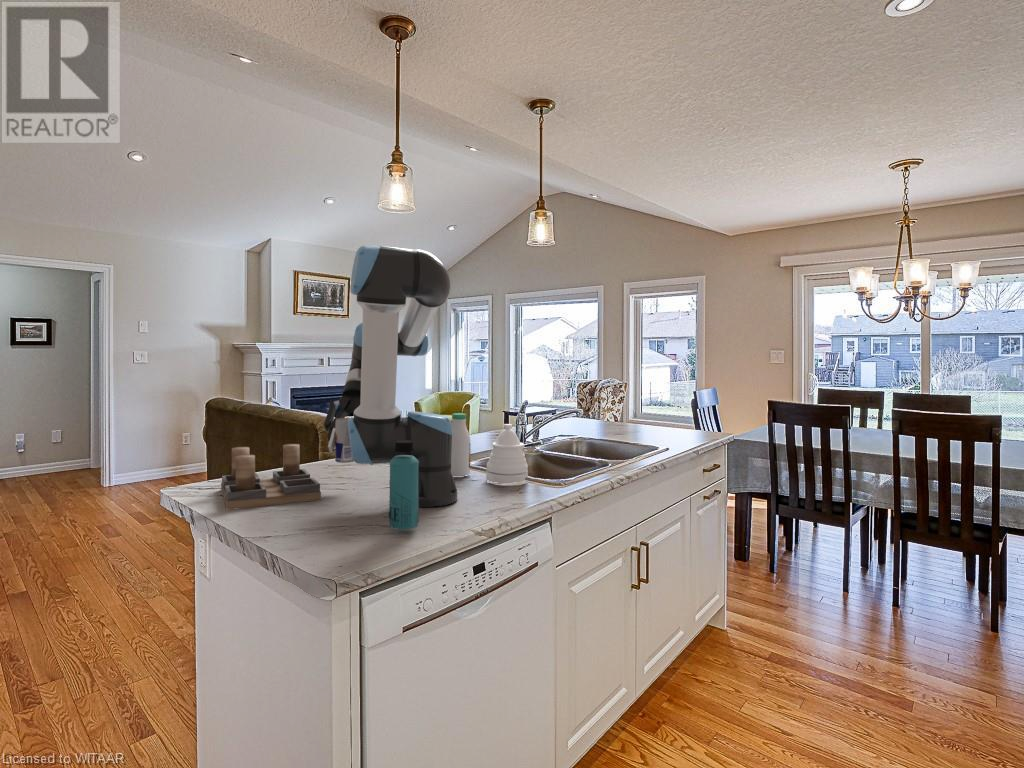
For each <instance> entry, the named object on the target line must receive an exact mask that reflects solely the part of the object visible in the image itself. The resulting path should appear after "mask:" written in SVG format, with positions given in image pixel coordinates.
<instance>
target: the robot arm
mask: <svg viewBox="0 0 1024 768" xmlns="http://www.w3.org/2000/svg"><path fill="white" fill-rule="evenodd" d="M354 255H355V256H354V259H353V265H352V269H351V278H350V286H349V288H350V294H352V295H354V296H355V295H356V304H358V305H359V307H361V309H362V322H361V323H360V322H359V324H358V325H357V326H356V327H355V330H354V334H353V335H354V336H353V340H352V341H353V343H352V344H353V345H352V353H351V361H350V366H349V370H348V373H347V376H346V380H345V384H344V386H343V390H342V393H341V396H340V398H339V400H333V399H330V400H329V402H328V403H329V408H328V411H327V414H326V417H325V420H324V423H323V426H324V429H325V432H328V433H327V441H328V445H327V448H328V451H329V453H331V454H332V453H333V452H334V451H335V450H334V449H335V422H336V419H337V418H346V417H347V416H348V415H349V414H353V417H349V418H350V419H348V420H347V422H348V435H349V442H350V449H351V454H352V458H353V460H354V463H355V464H358V465H371V466H372V465H378V464H379V465H380V464H390V461H391V460H392V459H393V458H394V457H395V456H398V455H412V456H414V457H415V458H416V459H417V460H418V461H419V464H418V489H419V490H418V505H419V507H418V508H435V507H434V506H439V507H443V506H442V505H445V506H448V505H447V504H450V503H452V504H454V503H453V502H455V501H456V500H457V501H458V495H459V494H458V492H459V491H458V489H457V486H456V483H455V479H454V478H455V477H453V475H452V471H451V462H452V435H453V433H452V424H453V421H452V419H450V418H449V417H448V416H446V415H443V414H438V413H432V412H424V411H408V413H407V415H406V416H407V417H402V412H401V410H400V409H399V407H397V406H396V396H397V395H396V393H397V371H398V370H397V369H398V368H397V367H398V356H401V357H403V356H406V357H420V356H425V355H426V354H428V349H429V336H428V334H427V333H428V331H429V328H430V327H431V324H432V322H433V320H434V319H435V316H436V313H437V312H438V309H439V307H441V306H443V305H444V304H445V302H446V301H447V299H448V297H449V295H450V290H451V279H450V276H449V275H450V274H449V273H448V270H447V268H446V267H445V265H444V263H443V262H442V261H441V260H440V259H439V258H438V257H437V256H435V255H434V254H432V253H431V252H429V251H426V250H423V249H416V248H415V249H414V248H413V249H411V248H401V247H393V246H392V247H391V246H384V245H361V246H359V248H358V249H357V250H356V253H355V254H354ZM407 298H410V302H409V305H408V307H407V309H406V312H405V315H404V318H403V320H402V323H401V327H400V329H399V319H400V318H399V317H400V311H401V310H402V309H404V308H405V306H406V302H407ZM339 406H340V409H339V411H338V413H336V412H337V410H338V407H339ZM335 415H336V416H335ZM401 440H408V441H413V444H414V451H411V452H397V451H395V442H396V441H401ZM457 501H456V502H457ZM456 502H455V503H456ZM450 505H451V504H450Z"/></svg>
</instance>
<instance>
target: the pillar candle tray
mask: <svg viewBox="0 0 1024 768" xmlns="http://www.w3.org/2000/svg"><path fill="white" fill-rule="evenodd" d="M300 446H301V444H299V443H288V444H282V470H275V471H272V477H271V478H260V477H259V475H258V473H257V472H256V455H255V454H251V453H250V447H249V446H237V447H232V448H231V474H227V475H225V474H224V475H222V476H221V482H220V490H221V494H223V495H222V497H223V502H224V501H225V502H224V505H225V508H227V509H230V510H236V509H235V508H239V509H247V508H255V507H264V506H273V505H282V504H291V503H292V502H293V503H302V502H308V501H309V500H311V501H318V500H317V499H320V500H322V491H321V484H320V483H319V482H318V480H316V479H315V478H314V477H311V474H310V473H309V472H308V471H307V470H306V469H305V468H300V467H301V466H300V460H301V459H300V457H301V456H300V453H301V449H300ZM301 501H302V502H301ZM309 502H310V501H309ZM227 509H226V510H227Z"/></svg>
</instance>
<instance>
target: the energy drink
mask: <svg viewBox="0 0 1024 768" xmlns="http://www.w3.org/2000/svg"><path fill="white" fill-rule="evenodd" d="M350 418H351V417H345V418H337V419H336V422H335V446H334V449H335V450H334V451H335V452H334V459H335V462H336V463H338V464H339V463H340V464H348V463H353V462H354V460H353V458H352V454H351V449H350V442H349V435H348V422H347V420H348V419H350ZM354 463H355V462H354Z"/></svg>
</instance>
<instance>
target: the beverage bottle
mask: <svg viewBox="0 0 1024 768" xmlns="http://www.w3.org/2000/svg"><path fill="white" fill-rule="evenodd" d="M395 451H397V452H411V451H414V444H413V441H408V440H401V441H396V442H395ZM418 464H419V461H418V460H417V459H416V458H415V457H414V456H412V455H398V456H395V457H394V458H393V459H392V460H391V461H390V463H389V504H388V507H389V511H388V518H389V519H388V524H389V527H390V528H392V529H395V530H410V529H415V528H416V527H418V524H419V522H420V521H419V520H420V519H419V517H420V512H419V511H420V510H419V509H420V507H419V505H418V490H419V489H418Z"/></svg>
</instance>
